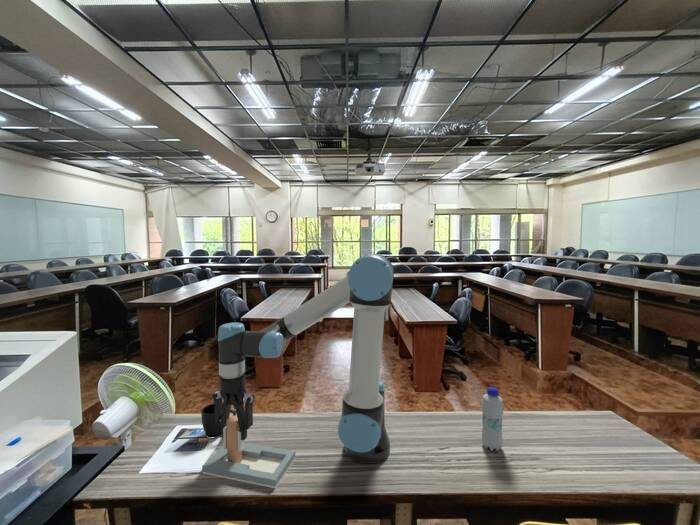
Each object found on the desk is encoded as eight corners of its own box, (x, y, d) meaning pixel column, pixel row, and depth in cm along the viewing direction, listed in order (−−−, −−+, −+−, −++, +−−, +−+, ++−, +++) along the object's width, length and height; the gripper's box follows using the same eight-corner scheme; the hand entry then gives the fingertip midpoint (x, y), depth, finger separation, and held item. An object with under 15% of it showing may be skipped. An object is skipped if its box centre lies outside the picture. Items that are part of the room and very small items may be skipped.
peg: (245, 456, 101) (244, 416, 101) (237, 465, 97) (235, 424, 97) (233, 454, 103) (232, 414, 102) (224, 463, 98) (223, 422, 98)
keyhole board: (295, 458, 102) (295, 451, 102) (275, 488, 89) (275, 480, 89) (229, 447, 108) (229, 440, 108) (202, 473, 95) (202, 465, 95)
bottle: (492, 438, 111) (492, 382, 110) (507, 450, 105) (508, 390, 104) (476, 443, 109) (477, 385, 108) (491, 455, 102) (492, 393, 101)
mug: (230, 442, 111) (229, 415, 110) (197, 440, 112) (196, 413, 111) (240, 428, 119) (240, 403, 118) (210, 427, 120) (209, 402, 120)
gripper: (264, 372, 100) (265, 444, 101) (216, 367, 104) (218, 436, 106) (250, 381, 93) (252, 460, 94) (199, 376, 97) (202, 450, 98)
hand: (234, 447), depth 100 cm, fingers closed on peg, 4 cm apart
